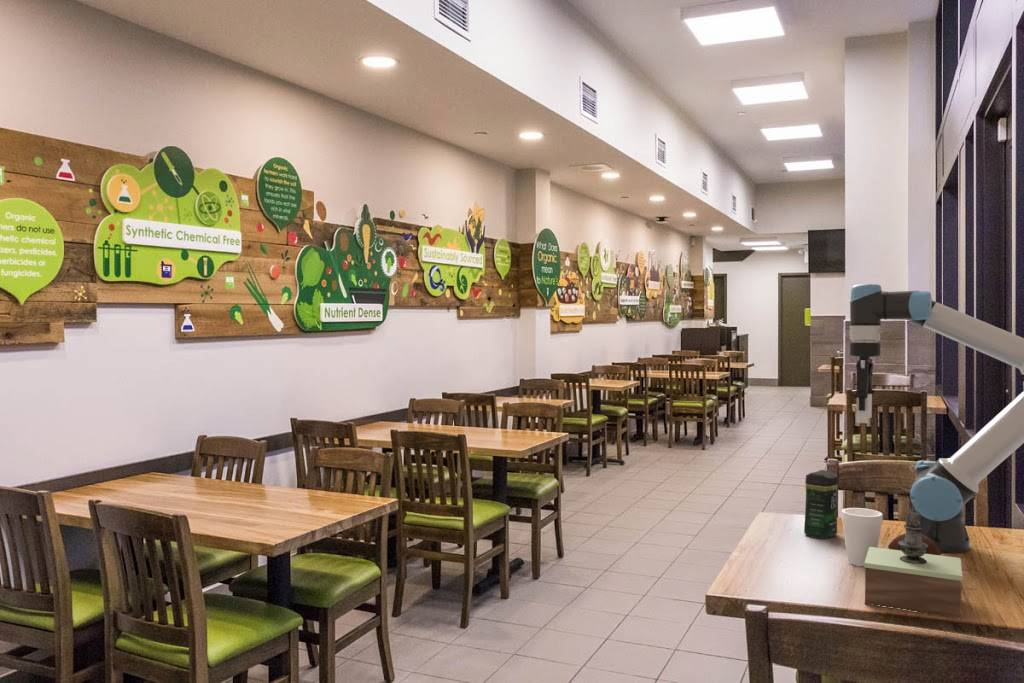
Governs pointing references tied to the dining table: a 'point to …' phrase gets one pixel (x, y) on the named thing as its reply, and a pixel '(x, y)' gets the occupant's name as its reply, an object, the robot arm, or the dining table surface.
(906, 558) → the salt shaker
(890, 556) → the lid
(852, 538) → the foam cup
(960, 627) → the dining table surface
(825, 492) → the coffee jar
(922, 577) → the box
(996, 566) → the dining table surface
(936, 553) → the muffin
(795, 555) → the dining table surface
